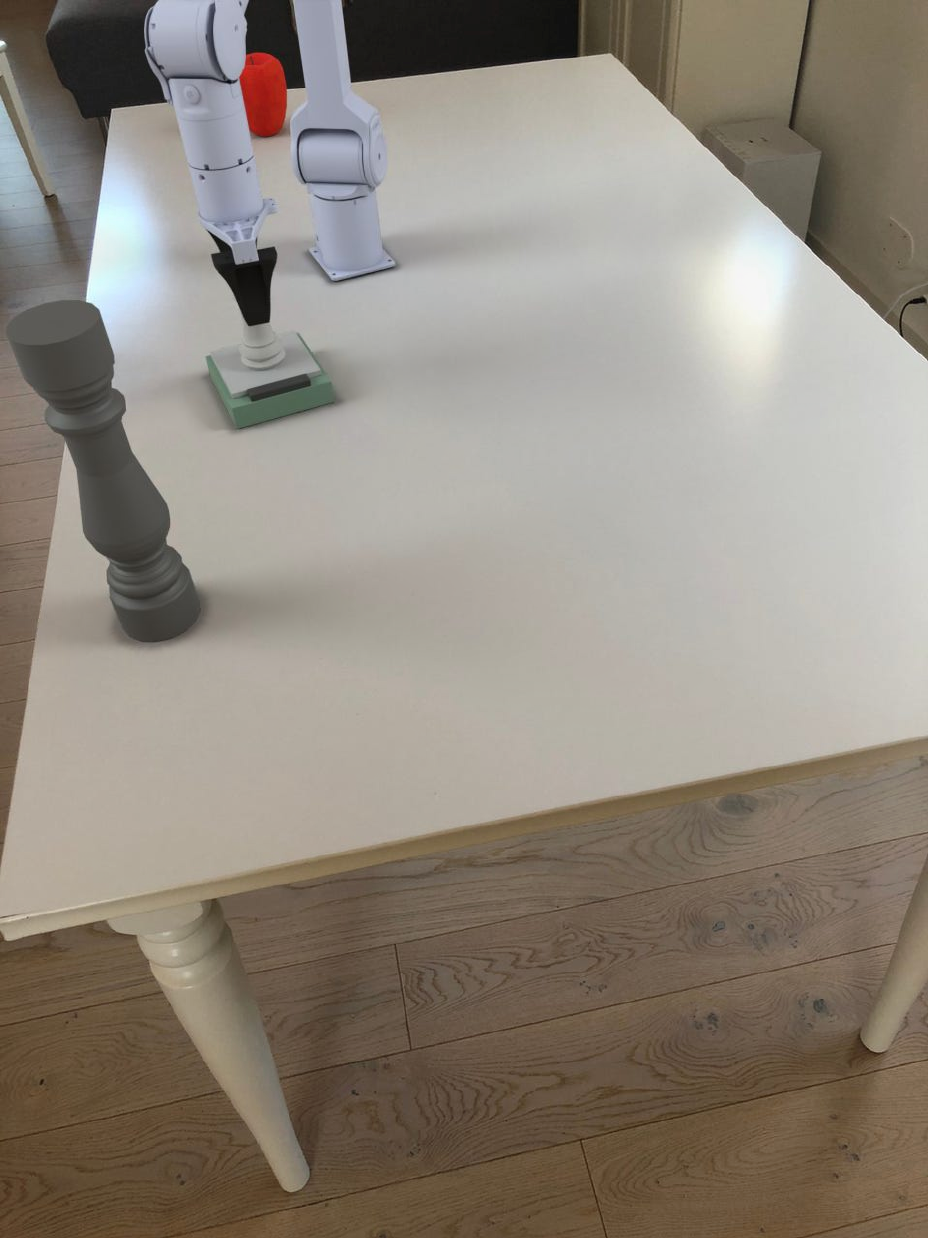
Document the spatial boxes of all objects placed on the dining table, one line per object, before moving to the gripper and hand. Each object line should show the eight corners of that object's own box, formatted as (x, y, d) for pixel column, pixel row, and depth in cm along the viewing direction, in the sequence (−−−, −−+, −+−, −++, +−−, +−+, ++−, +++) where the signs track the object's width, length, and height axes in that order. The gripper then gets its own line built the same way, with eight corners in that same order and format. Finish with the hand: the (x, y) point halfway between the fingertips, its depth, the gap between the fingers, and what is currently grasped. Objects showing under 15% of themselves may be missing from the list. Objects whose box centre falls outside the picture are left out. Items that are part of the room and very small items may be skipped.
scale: (210, 376, 105) (203, 349, 103) (302, 352, 107) (297, 325, 105) (237, 429, 98) (230, 401, 95) (335, 402, 100) (330, 374, 98)
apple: (247, 122, 160) (232, 46, 152) (300, 121, 159) (288, 45, 151) (230, 142, 154) (213, 64, 146) (285, 142, 153) (272, 63, 145)
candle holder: (127, 591, 82) (14, 302, 64) (204, 583, 82) (112, 293, 64) (115, 645, 77) (-11, 351, 60) (196, 637, 77) (94, 341, 60)
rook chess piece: (285, 369, 99) (269, 293, 94) (239, 373, 99) (221, 297, 94) (287, 346, 102) (272, 271, 97) (243, 350, 102) (226, 275, 97)
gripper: (280, 180, 83) (307, 331, 92) (254, 123, 93) (281, 265, 102) (193, 194, 82) (230, 346, 91) (177, 135, 92) (212, 278, 101)
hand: (252, 304), depth 97 cm, fingers open, 7 cm apart
